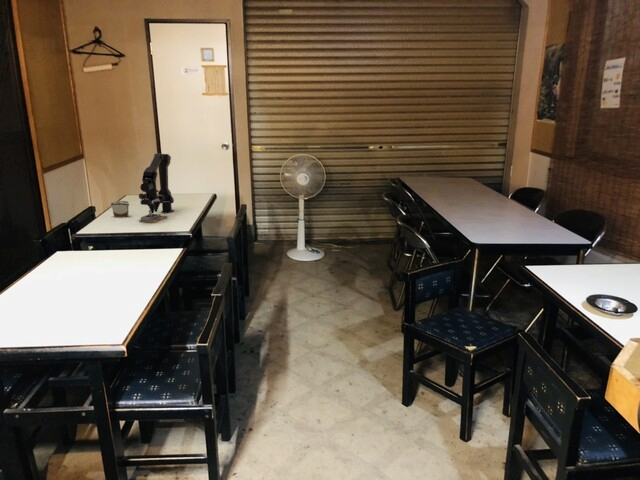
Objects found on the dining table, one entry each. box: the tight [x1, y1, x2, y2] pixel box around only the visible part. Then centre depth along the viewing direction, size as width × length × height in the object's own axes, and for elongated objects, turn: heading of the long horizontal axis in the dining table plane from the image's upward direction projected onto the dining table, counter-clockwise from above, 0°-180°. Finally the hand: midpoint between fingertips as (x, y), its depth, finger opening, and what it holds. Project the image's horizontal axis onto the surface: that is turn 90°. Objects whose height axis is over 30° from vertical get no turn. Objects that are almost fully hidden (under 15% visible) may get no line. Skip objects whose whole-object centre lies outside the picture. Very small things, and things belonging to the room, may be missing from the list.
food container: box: [110, 200, 130, 218], centre depth 332 cm, size 12×6×10 cm, turn 84°
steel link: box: [140, 213, 162, 221], centre depth 321 cm, size 10×8×2 cm
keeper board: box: [138, 209, 167, 224], centre depth 322 cm, size 14×11×7 cm
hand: (154, 212), depth 324 cm, fingers open, 3 cm apart
